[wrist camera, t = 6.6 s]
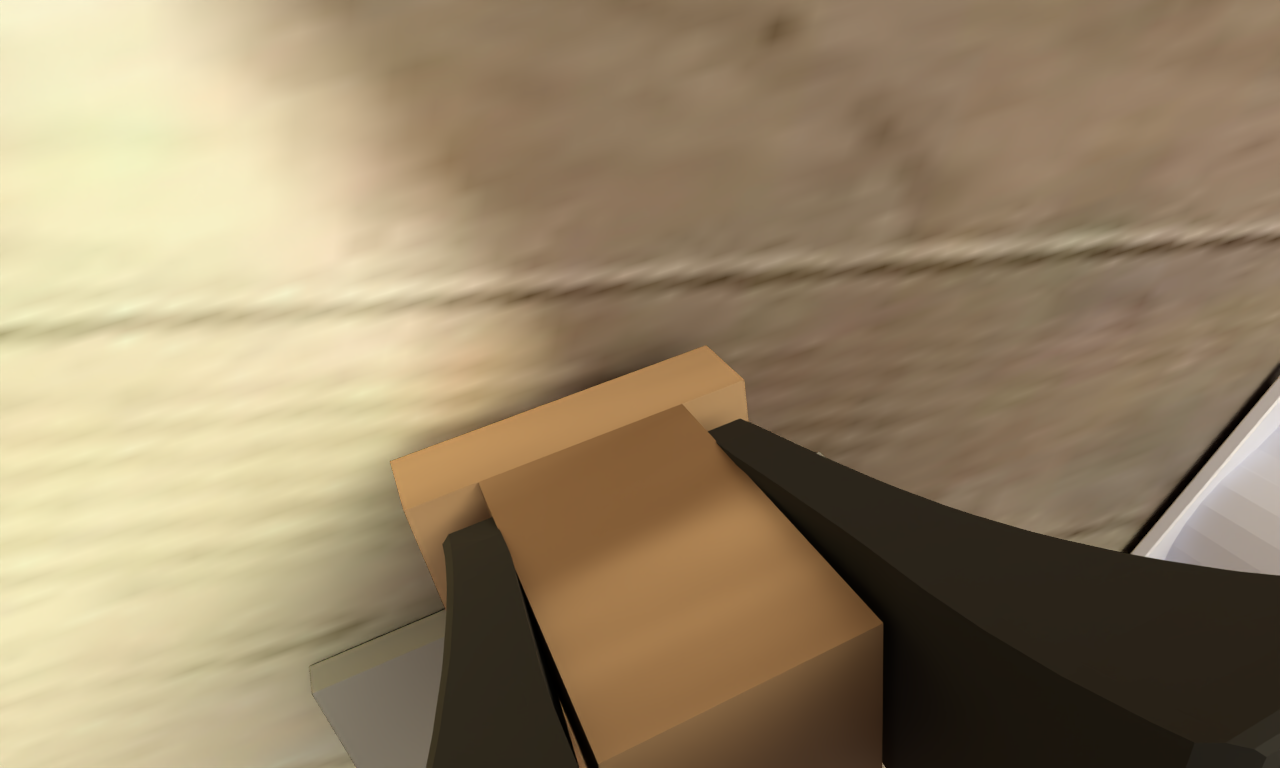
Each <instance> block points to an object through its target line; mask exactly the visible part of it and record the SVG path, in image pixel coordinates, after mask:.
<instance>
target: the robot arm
mask: <svg viewBox="0 0 1280 768" xmlns="http://www.w3.org/2000/svg"><path fill="white" fill-rule="evenodd" d="M708 433H709V434H710V435H711V436H712V437H713V438H714V439H715V440H716V441H717V442H716V443H717V444H718V446H719V447H720V448H721V449H722V450H723V451H724V452H725V453H726V454H727V455H728V456H729V458H730V459H731V460H732V461H733V462H734V463H735V464H736V465H737V466H738V467H739V468H740V469H741V470H742V471H744V472H745V473H746V474H747V475H748V476H749V477H750V478H751V479H752V481H753V482H754V483H755V484H756V485H757V486H758V487H759V488H760V489H761V490H762V491H763V493H764V494H765V495H766V496H767V497H768V498H769V499H770V500H771V501H772V502H773V503H774V505H775V506H776V507H777V508H778V509H779V510H780V511H781V512H782V513H783V514H784V515H785V517H786V518H787V519H788V520H789V521H790V522H791V523H792V524H793V525H794V526H795V527H796V529H797V530H798V531H799V532H800V533H801V534H802V535H803V536H804V537H805V538H806V539H807V540H808V542H809V543H810V544H811V545H812V546H813V547H814V548H815V549H816V550H817V551H818V552H819V554H820V555H821V556H822V557H823V558H824V559H825V560H826V561H827V562H828V563H829V564H830V566H831V567H832V568H833V569H834V570H835V571H836V572H837V573H838V574H839V575H840V576H841V578H842V579H843V580H844V581H845V582H846V583H847V584H848V585H849V586H850V587H851V588H852V590H853V591H854V592H855V593H856V594H857V595H858V596H859V597H860V598H861V599H862V600H863V602H864V603H865V604H866V605H867V606H868V607H869V608H870V609H871V610H872V611H873V612H874V614H875V615H876V616H877V617H878V618H879V619H880V620H881V621H882V622H883V726H882V763H883V764H884V766H885V767H886V768H1280V376H1279V377H1278V378H1277V379H1276V380H1275V382H1274V383H1273V384H1272V385H1271V386H1270V388H1269V389H1268V390H1267V391H1266V392H1265V394H1264V395H1263V396H1262V397H1261V398H1260V399H1259V401H1258V402H1257V403H1256V404H1255V405H1254V407H1253V408H1252V409H1251V410H1250V411H1249V413H1248V414H1247V415H1246V416H1245V417H1244V419H1243V420H1242V421H1241V422H1240V423H1239V425H1238V426H1237V427H1236V428H1235V429H1234V430H1233V432H1232V433H1231V434H1230V435H1229V436H1228V438H1227V439H1226V440H1225V441H1224V442H1223V444H1222V445H1221V446H1220V447H1219V448H1218V450H1217V451H1216V452H1215V453H1214V454H1213V456H1212V457H1211V458H1210V459H1209V460H1208V462H1207V463H1206V464H1205V465H1204V466H1203V467H1202V469H1201V470H1200V471H1199V472H1198V473H1197V475H1196V476H1195V477H1194V478H1193V479H1192V481H1191V482H1190V483H1189V484H1188V485H1187V487H1186V488H1185V489H1184V490H1183V491H1182V493H1181V494H1180V495H1179V496H1178V497H1177V499H1176V500H1175V501H1174V502H1173V503H1172V504H1171V506H1170V507H1169V508H1168V509H1167V510H1166V512H1165V513H1164V514H1163V515H1162V516H1161V518H1160V519H1159V520H1158V521H1157V522H1156V524H1155V525H1154V526H1153V527H1152V528H1151V530H1150V531H1149V532H1148V533H1147V534H1146V536H1145V537H1144V538H1143V539H1142V540H1141V541H1140V543H1139V544H1138V545H1137V546H1136V547H1135V549H1134V550H1133V551H1132V552H1131V553H1130V554H1127V553H1122V552H1117V551H1112V550H1108V549H1103V548H1099V547H1094V546H1090V545H1085V544H1081V543H1076V542H1072V541H1067V540H1062V539H1058V538H1054V537H1050V536H1046V535H1042V534H1038V533H1034V532H1031V531H1027V530H1023V529H1020V528H1016V527H1013V526H1010V525H1006V524H1003V523H999V522H996V521H992V520H989V519H986V518H982V517H979V516H975V515H972V514H969V513H966V512H963V511H960V510H957V509H954V508H951V507H948V506H945V505H942V504H939V503H937V502H934V501H931V500H929V499H926V498H923V497H920V496H918V495H915V494H912V493H909V492H907V491H904V490H901V489H899V488H896V487H894V486H891V485H889V484H886V483H884V482H881V481H879V480H876V479H874V478H872V477H869V476H867V475H864V474H862V473H860V472H857V471H855V470H853V469H850V468H848V467H846V466H843V465H841V464H839V463H837V462H834V461H832V460H830V459H828V458H825V457H823V456H821V455H819V454H817V453H814V452H812V451H810V450H808V449H806V448H804V447H801V446H799V445H797V444H795V443H793V442H791V441H789V440H786V439H784V438H782V437H780V436H778V435H776V434H774V433H771V432H769V431H767V430H765V429H763V428H761V427H759V426H756V425H754V424H752V423H750V422H747V421H745V420H743V419H741V418H740V419H737V420H735V421H732V422H730V423H727V424H725V425H722V426H720V427H717V428H715V429H712V430H710V431H708ZM442 545H443V550H444V555H445V565H446V581H447V599H446V625H445V638H444V650H443V663H442V672H441V680H440V687H439V693H438V700H437V707H436V713H435V720H434V727H433V733H432V739H431V744H430V749H429V754H428V759H427V764H426V768H579V765H578V761H577V758H576V754H575V751H574V748H573V744H572V741H571V737H570V734H569V731H568V727H567V724H566V720H565V717H564V714H563V710H562V707H561V703H560V700H559V697H558V694H557V691H556V688H555V685H554V682H553V679H552V676H551V673H550V670H549V667H548V664H547V662H546V659H545V656H544V653H543V650H542V647H541V644H540V641H539V638H538V635H537V632H536V629H535V626H534V623H533V620H532V617H531V614H530V612H529V609H528V606H527V603H526V600H525V597H524V594H523V591H522V588H521V585H520V582H519V579H518V576H517V573H516V570H515V567H514V564H513V560H512V557H511V554H510V551H509V549H508V546H507V544H506V542H505V540H504V538H503V536H502V533H501V531H500V529H498V528H497V526H496V524H495V521H494V519H493V517H491V518H488V519H486V520H483V521H481V522H478V523H476V524H473V525H471V526H468V527H466V528H463V529H461V530H458V531H456V532H453V533H451V534H448V536H447V538H446V539H445V541H444V542H443V544H442Z"/></svg>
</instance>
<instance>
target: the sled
mask: <svg viewBox="0 0 1280 768" xmlns="http://www.w3.org/2000/svg"><path fill="white" fill-rule="evenodd" d="M740 418H741V419H743V420H745V421H747V422H749V421H748V412H747V402H746V393H745V383H744V379H743V378H742V377H740V376H739V375H738V374H737V373H736V372H735V371H734V370H733V369H732V368H731V367H729V366H728V365H727V364H726V363H725V362H724V361H723V360H722V359H721V358H720V357H718V356H717V355H716V354H715V353H714V352H713V351H712V350H711V349H710V348H709V347H707V346H706V345H705V346H703V347H700V348H697V349H694V350H692V351H689V352H686V353H684V354H681V355H678V356H675V357H673V358H670V359H667V360H664V361H662V362H659V363H656V364H654V365H651V366H648V367H645V368H643V369H640V370H637V371H635V372H632V373H629V374H626V375H624V376H621V377H618V378H615V379H613V380H610V381H607V382H605V383H602V384H599V385H596V386H594V387H591V388H588V389H586V390H583V391H580V392H577V393H575V394H572V395H569V396H567V397H564V398H561V399H558V400H556V401H553V402H550V403H547V404H545V405H542V406H539V407H537V408H534V409H531V410H528V411H526V412H523V413H520V414H518V415H515V416H512V417H509V418H507V419H504V420H501V421H498V422H496V423H493V424H490V425H488V426H485V427H482V428H479V429H477V430H474V431H471V432H469V433H466V434H463V435H460V436H458V437H455V438H452V439H449V440H447V441H444V442H441V443H439V444H436V445H433V446H430V447H428V448H425V449H422V450H420V451H417V452H414V453H411V454H409V455H406V456H403V457H401V458H398V459H395V460H392V461H390V463H391V467H392V471H393V474H394V478H395V481H396V485H397V489H398V492H399V496H400V499H401V503H402V507H403V510H404V513H405V515H406V517H407V520H408V522H409V525H410V527H411V529H412V532H413V534H414V536H415V539H416V541H417V544H418V546H419V548H420V551H421V553H422V555H423V558H424V560H425V562H426V565H427V567H428V570H429V572H430V574H431V577H432V579H433V581H434V584H435V586H436V589H437V591H438V593H439V596H440V598H441V600H442V603H443V605H444V608H445V610H446V599H447V581H446V565H445V555H444V550H443V545H442V544H443V542H444V541H445V539H446V538H447V536H448V534H451V533H453V532H456V531H458V530H461V529H463V528H466V527H468V526H471V525H473V524H476V523H478V522H481V521H483V520H486V519H488V518H491V517H493V519H494V521H495V524H496V526H497V528H498V529H500V531H501V533H502V536H503V538H504V540H505V542H506V544H507V546H508V549H509V551H510V554H511V557H512V560H513V564H514V567H515V570H516V573H517V576H518V579H519V582H520V585H521V588H522V591H523V594H524V597H525V600H526V603H527V606H528V609H529V612H530V614H531V617H532V620H533V623H534V626H535V629H536V632H537V635H538V638H539V641H540V644H541V647H542V650H543V653H544V656H545V659H546V662H547V664H548V667H549V670H550V673H551V676H552V679H553V682H554V685H555V688H556V691H557V694H558V697H559V700H560V703H561V707H562V710H563V714H564V717H565V720H566V724H567V727H568V731H569V734H570V737H571V741H572V744H573V748H574V751H575V754H576V758H577V761H578V765H579V768H882V726H883V622H882V621H881V620H880V619H879V618H878V617H877V616H876V615H875V614H874V612H873V611H872V610H871V609H870V608H869V607H868V606H867V605H866V604H865V603H864V602H863V600H862V599H861V598H860V597H859V596H858V595H857V594H856V593H855V592H854V591H853V590H852V588H851V587H850V586H849V585H848V584H847V583H846V582H845V581H844V580H843V579H842V578H841V576H840V575H839V574H838V573H837V572H836V571H835V570H834V569H833V568H832V567H831V566H830V564H829V563H828V562H827V561H826V560H825V559H824V558H823V557H822V556H821V555H820V554H819V552H818V551H817V550H816V549H815V548H814V547H813V546H812V545H811V544H810V543H809V542H808V540H807V539H806V538H805V537H804V536H803V535H802V534H801V533H800V532H799V531H798V530H797V529H796V527H795V526H794V525H793V524H792V523H791V522H790V521H789V520H788V519H787V518H786V517H785V515H784V514H783V513H782V512H781V511H780V510H779V509H778V508H777V507H776V506H775V505H774V503H773V502H772V501H771V500H770V499H769V498H768V497H767V496H766V495H765V494H764V493H763V491H762V490H761V489H760V488H759V487H758V486H757V485H756V484H755V483H754V482H753V481H752V479H751V478H750V477H749V476H748V475H747V474H746V473H745V472H744V471H742V470H741V469H740V468H739V467H738V466H737V465H736V464H735V463H734V462H733V461H732V460H731V459H730V458H729V456H728V455H727V454H726V453H725V452H724V451H723V450H722V449H721V448H720V447H719V446H718V444H717V443H716V442H717V441H716V440H715V439H714V438H713V437H712V436H711V435H710V434H709V433H708V431H710V430H712V429H715V428H717V427H720V426H722V425H725V424H727V423H730V422H732V421H735V420H737V419H740Z"/></svg>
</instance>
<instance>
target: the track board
mask: <svg viewBox="0 0 1280 768" xmlns="http://www.w3.org/2000/svg"><path fill="white" fill-rule="evenodd" d="M817 454H819V455H821V456H823V455H822V454H821V453H820V452H818V453H817ZM823 457H824V456H823ZM825 458H826V457H825ZM445 625H446V610H442V611H440V612H438V613H435V614H433V615H431V616H428V617H426V618H423V619H421V620H419V621H416V622H414V623H412V624H409V625H407V626H404V627H402V628H400V629H397V630H395V631H393V632H390V633H388V634H385V635H383V636H381V637H378V638H376V639H374V640H371V641H369V642H366V643H364V644H362V645H359V646H357V647H355V648H352V649H350V650H347V651H345V652H343V653H340V654H338V655H336V656H333V657H331V658H328V659H326V660H324V661H321V662H319V663H317V664H314V665H312V666H310V667H309V669H310V680H311V690H312V695H313V697H314V698H315V700H316V702H317V703H318V705H319V707H320V708H321V710H322V711H323V713H324V715H325V716H326V718H327V720H328V721H329V723H330V725H331V726H332V728H333V730H334V731H335V733H336V735H337V736H338V738H339V740H340V741H341V743H342V745H343V746H344V748H345V750H346V751H347V753H348V755H349V756H350V758H351V760H352V761H353V763H354V765H355V766H356V768H426V764H427V759H428V754H429V749H430V744H431V739H432V733H433V727H434V720H435V713H436V707H437V700H438V693H439V687H440V680H441V672H442V663H443V650H444V638H445Z"/></svg>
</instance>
